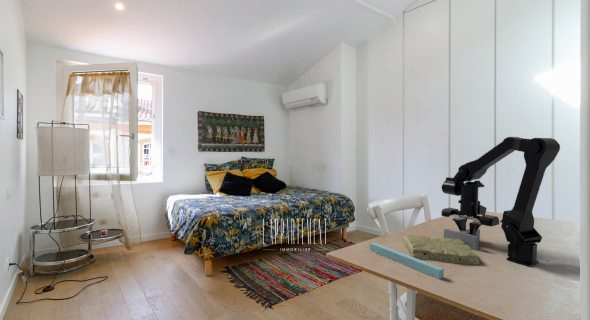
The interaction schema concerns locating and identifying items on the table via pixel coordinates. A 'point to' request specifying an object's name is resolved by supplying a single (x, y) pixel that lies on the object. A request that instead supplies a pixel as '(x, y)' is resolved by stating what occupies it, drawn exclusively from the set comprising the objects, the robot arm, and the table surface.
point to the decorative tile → (440, 249)
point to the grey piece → (464, 237)
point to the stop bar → (408, 260)
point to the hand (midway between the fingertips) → (468, 238)
